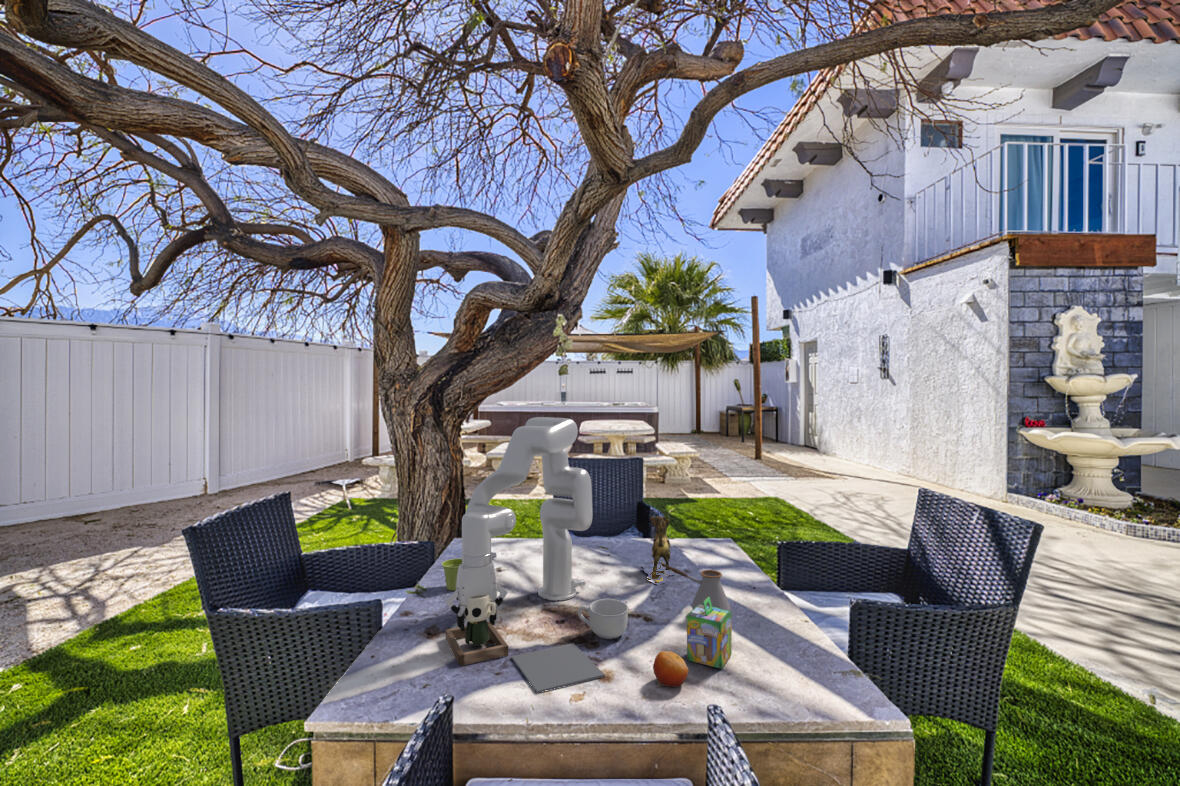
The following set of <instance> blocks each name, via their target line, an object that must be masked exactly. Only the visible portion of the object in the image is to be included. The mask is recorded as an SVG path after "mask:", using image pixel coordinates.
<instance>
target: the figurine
mask: <svg viewBox="0 0 1180 786" xmlns="http://www.w3.org/2000/svg"><path fill="white" fill-rule="evenodd" d="M649 521H651V526H652V527H653V528H655V530H656V532H655V535H654V538H653V543H652V546H651V553H652V554H651V557H652V558H653V561H651V563H653V562H654V567H653V572H652V573H651V574H652V579H658V578H659V576H661V575H656V572H658V573H663V574H665V572H664V571H656V570H657V564H658V561H660V559H661V558H662V559H663V561H664V563H665V565H669V566H670V562H669V561H670V559H671V550H670V549H671V547H672V546H671V542H670V540H669V538H668V536H667V530H668V527H670V521H671V520H670V519H669V518H667V516H659V515H657V516H650V518H649ZM665 570H670V569H667V568H666V569H665ZM658 573H657V574H658ZM651 574H650V575H651ZM665 575H666V574H665ZM666 576H667V575H666ZM660 578H661V579H660V580H654V581H655V583H659V582H660V581H663V578H662V577H660ZM647 579H648V580H651V579H649V578H647ZM647 579H646V580H647Z"/></svg>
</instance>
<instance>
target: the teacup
mask: <svg viewBox="0 0 1180 786" xmlns="http://www.w3.org/2000/svg"><path fill="white" fill-rule="evenodd" d="M583 610H585V611H587V613H588V615H589V619H588V618H586V617H585V616H584V615H583V614H582V611H583ZM628 612H629V606H628V604H627V603H625V602H624V601H622V600H618V599H616V598H615V599H614V598H602V599H601V598H600V599H596V600H594V601H592V602H591V603H590V604H589V605H586V604H583V605H580V606H579V608H578V610H577V616H578V617H579V619H580V620H581V621H582V622H584V623H585V624H587V626H588V627H590V628H591V630H592V632H593V634H595V635H597V637H599V638H601V639H604V638H605V639H606V640H613V639H612V638H614V639H617V638H619V637H621V635H623V634H624V633H625V631H626V630H627V628H628V619H629V613H628ZM605 639H604V640H605Z"/></svg>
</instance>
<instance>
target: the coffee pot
mask: <svg viewBox="0 0 1180 786" xmlns="http://www.w3.org/2000/svg"><path fill="white" fill-rule="evenodd" d="M661 565H662V566H663V567H666V568H667V569H670V570H671V571H673V572H674V573H675V574H677V575H679V576H682V577H684V578H687V579H688V580H691V581H693V582H695V583H697V584H699V587H698V589H697V591H696V594H694V595H695V596H694V598H693V600H692V602H691V609H692V610H693V609H694V608H695V607H697V606H698V605H703V601H704V600H705V599H706V598H707V597H708V596H709V597H710V601H711V605H712V607H716V608H720V609H723V610H727V611H731V605H730V602H729V600H728V599H727V595H726V592H725V590H724V588H723V585H722V582H721V581H720V580H721V578H722V576H723V574H722V573H721V572H720V571H718V570H714V569H706V570H705V569H704V570H701V571H700V572H699V573H700V575H701V578H702V580H700V579H697V578H695V577H693V576H691V575H689V574H686V573H685V572H683V571H681V570H679V569H677V568H676V567H672V566H670V564H669V565H666V563H665V562H663V563H661ZM661 565H660V568H661ZM660 568H659V569H660ZM706 606H709V603H707V604H706Z"/></svg>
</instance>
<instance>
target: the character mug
mask: <svg viewBox="0 0 1180 786" xmlns="http://www.w3.org/2000/svg"><path fill="white" fill-rule="evenodd" d="M491 606H492V611H491ZM495 612H496V608H495V603H493V602H490V599H489V595H487V596H484V597H481V598H469V601H468V605H467V606H466V608H465V610H464V612H463V615H464V620H465V621H467V622H466V626H467V627H466V635H465V637H464V641H465V644H466V645H468V646H470V642H471V645H472V646H473V647H477V646H482V645H485V644H487V642H489V640H490V636H489V631H488V624H487V622H488V621H487V620H489V617H490V615H495Z"/></svg>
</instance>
